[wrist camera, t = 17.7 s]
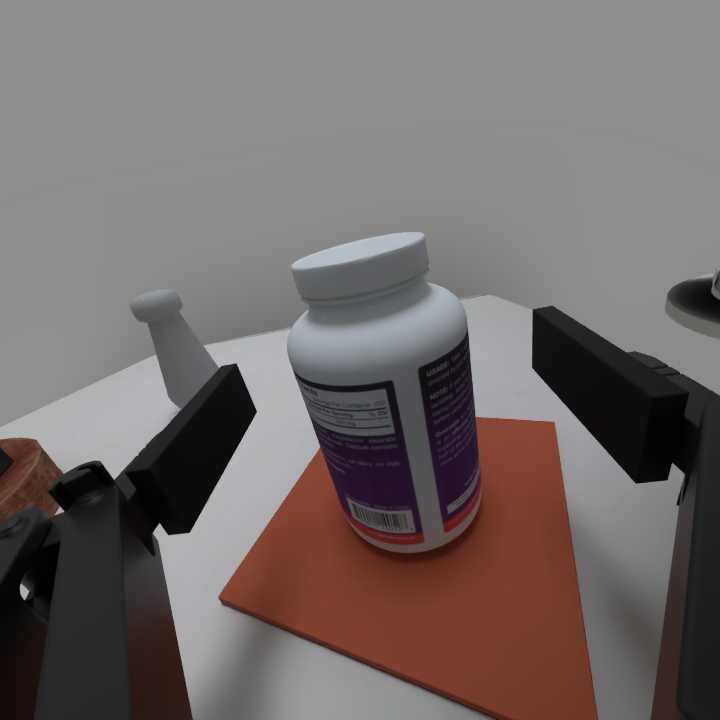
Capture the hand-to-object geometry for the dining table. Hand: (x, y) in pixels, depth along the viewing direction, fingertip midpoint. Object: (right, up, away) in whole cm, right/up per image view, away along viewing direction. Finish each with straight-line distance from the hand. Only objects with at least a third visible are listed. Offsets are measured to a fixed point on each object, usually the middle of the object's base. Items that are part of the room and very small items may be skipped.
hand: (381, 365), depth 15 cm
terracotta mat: (+2, -8, +5) cm, 10 cm away
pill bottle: (+2, -8, +5) cm, 10 cm away
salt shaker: (-18, -5, +23) cm, 30 cm away
